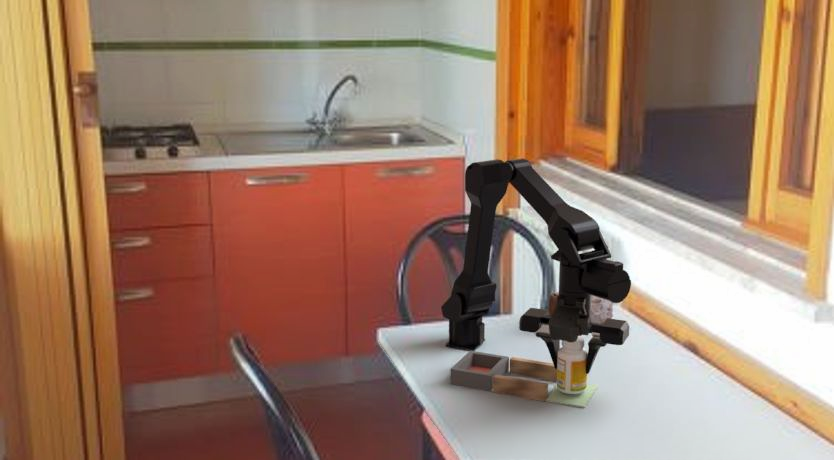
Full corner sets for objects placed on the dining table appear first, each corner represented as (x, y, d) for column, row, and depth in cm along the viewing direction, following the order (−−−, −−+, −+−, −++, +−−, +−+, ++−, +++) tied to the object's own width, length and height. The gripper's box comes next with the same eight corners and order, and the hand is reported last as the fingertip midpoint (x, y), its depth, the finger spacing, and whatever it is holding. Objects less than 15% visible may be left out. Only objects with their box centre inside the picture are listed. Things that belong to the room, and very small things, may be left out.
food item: (590, 315, 210) (592, 273, 207) (615, 326, 203) (617, 283, 201) (543, 327, 203) (544, 283, 200) (567, 338, 196) (569, 293, 194)
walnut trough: (492, 391, 170) (493, 376, 169) (511, 371, 179) (511, 356, 178) (545, 401, 166) (546, 385, 165) (562, 379, 175) (562, 365, 174)
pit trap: (450, 383, 173) (450, 368, 173) (470, 364, 182) (470, 350, 181) (490, 391, 170) (490, 375, 169) (508, 371, 179) (509, 356, 178)
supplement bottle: (589, 385, 170) (591, 335, 168) (582, 397, 165) (584, 345, 163) (561, 380, 172) (563, 331, 170) (552, 391, 167) (554, 341, 165)
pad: (545, 401, 166) (545, 399, 166) (561, 380, 175) (561, 378, 175) (584, 407, 163) (584, 406, 163) (598, 386, 172) (598, 385, 172)
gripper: (509, 294, 161) (508, 378, 165) (617, 308, 153) (612, 396, 157) (530, 277, 170) (528, 356, 174) (631, 289, 163) (627, 372, 167)
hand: (572, 370), depth 168 cm, fingers closed on supplement bottle, 5 cm apart
